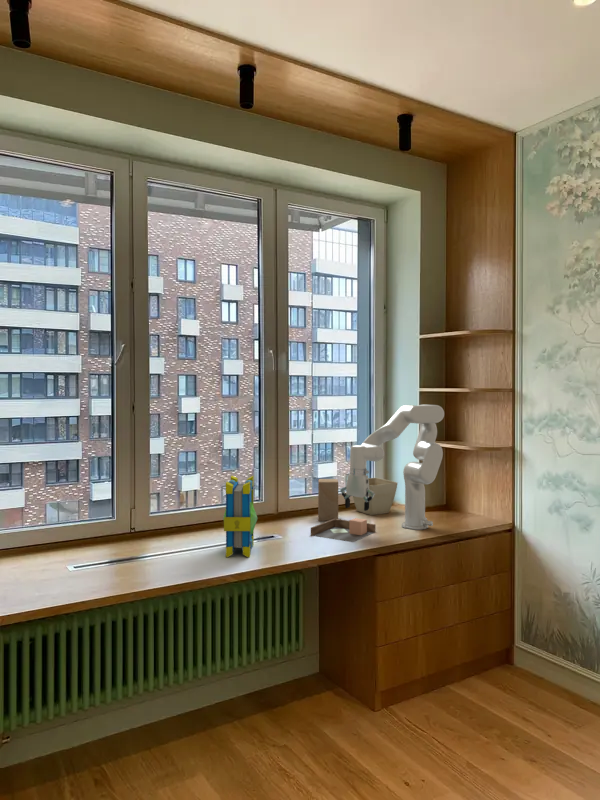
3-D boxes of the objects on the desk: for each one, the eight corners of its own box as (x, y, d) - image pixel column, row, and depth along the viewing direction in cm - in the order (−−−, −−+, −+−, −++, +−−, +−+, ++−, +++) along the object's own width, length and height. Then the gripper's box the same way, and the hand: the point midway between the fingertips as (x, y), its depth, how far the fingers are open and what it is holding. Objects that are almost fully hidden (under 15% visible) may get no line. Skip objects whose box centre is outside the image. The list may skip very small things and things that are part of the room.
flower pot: (398, 513, 329) (398, 482, 329) (370, 517, 319) (370, 485, 319) (375, 507, 345) (375, 477, 345) (348, 511, 335) (348, 480, 335)
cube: (366, 532, 285) (366, 519, 285) (360, 535, 280) (361, 522, 280) (355, 530, 289) (355, 518, 288) (349, 533, 284) (349, 520, 283)
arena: (375, 532, 286) (375, 524, 286) (353, 543, 268) (353, 534, 268) (334, 526, 298) (334, 518, 298) (310, 536, 280) (310, 527, 279)
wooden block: (338, 521, 310) (338, 481, 309) (318, 521, 310) (318, 481, 310) (337, 517, 320) (337, 478, 319) (318, 516, 320) (318, 478, 320)
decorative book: (219, 558, 244) (219, 483, 243) (227, 543, 267) (227, 474, 266) (255, 558, 244) (255, 483, 243) (259, 543, 267) (259, 474, 266)
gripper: (378, 473, 282) (377, 510, 282) (345, 469, 291) (344, 505, 292) (371, 474, 276) (370, 512, 276) (337, 471, 285) (336, 507, 285)
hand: (356, 509), depth 284 cm, fingers open, 9 cm apart
